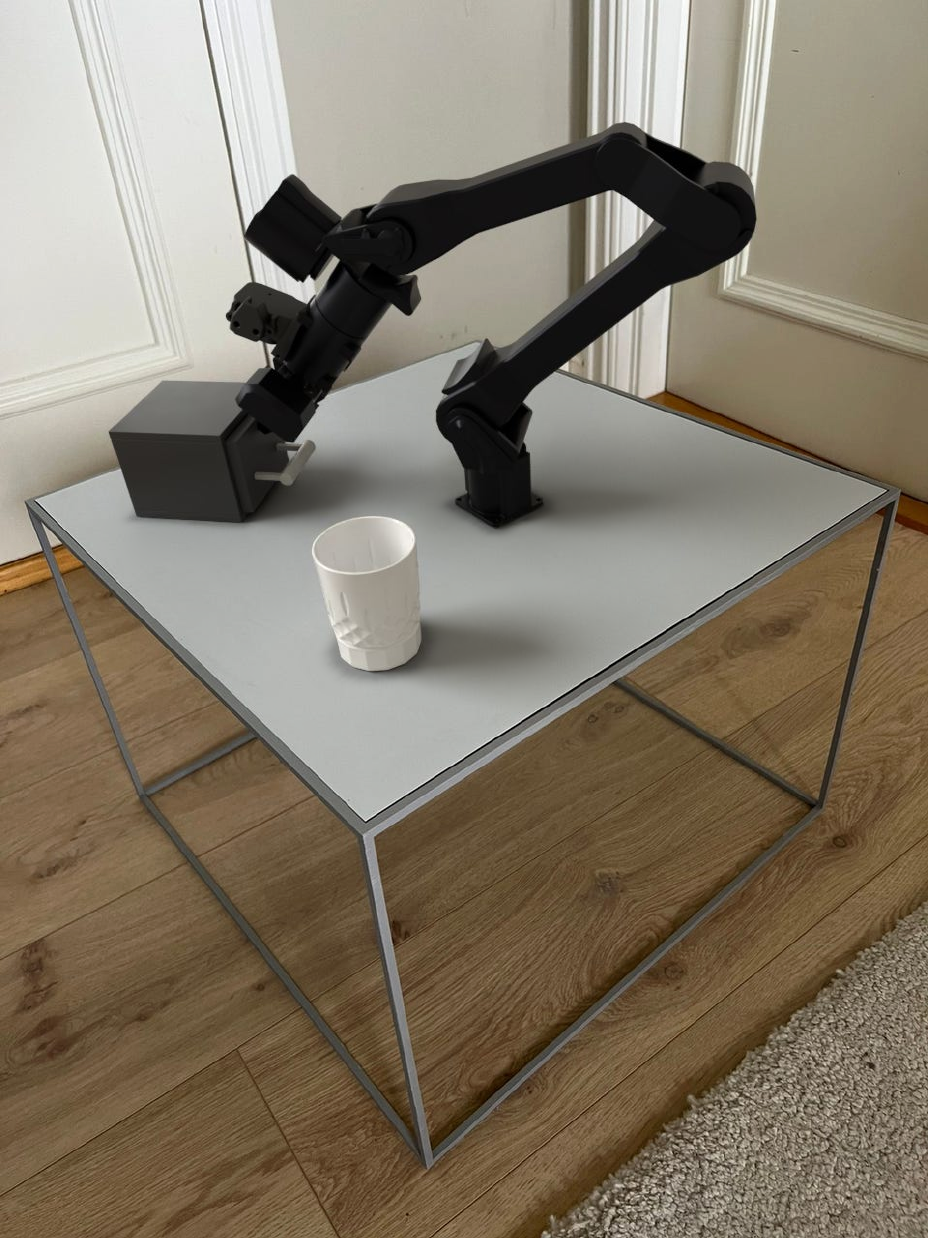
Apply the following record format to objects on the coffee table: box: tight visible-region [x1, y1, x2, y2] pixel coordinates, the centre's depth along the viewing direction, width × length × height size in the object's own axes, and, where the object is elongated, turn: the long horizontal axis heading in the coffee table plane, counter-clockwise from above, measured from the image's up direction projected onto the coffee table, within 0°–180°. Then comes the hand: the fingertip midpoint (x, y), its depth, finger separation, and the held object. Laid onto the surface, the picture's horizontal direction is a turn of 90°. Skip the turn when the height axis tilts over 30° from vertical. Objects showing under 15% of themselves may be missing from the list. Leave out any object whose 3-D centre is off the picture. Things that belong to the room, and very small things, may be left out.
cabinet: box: [108, 379, 250, 524], centre depth 97 cm, size 12×12×10 cm
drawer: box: [225, 413, 317, 513], centre depth 96 cm, size 15×10×8 cm
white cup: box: [311, 515, 422, 672], centre depth 74 cm, size 8×8×10 cm
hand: (262, 430), depth 94 cm, fingers closed, pressing on drawer
